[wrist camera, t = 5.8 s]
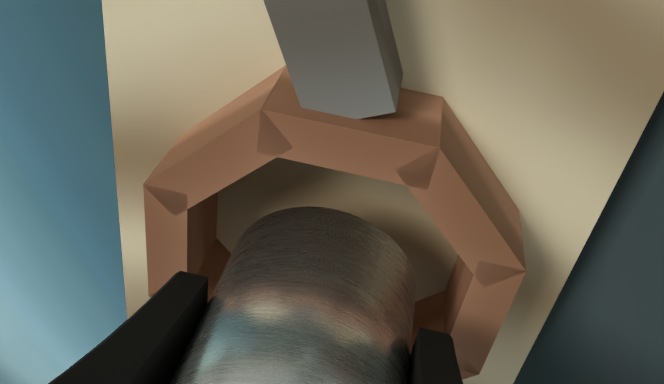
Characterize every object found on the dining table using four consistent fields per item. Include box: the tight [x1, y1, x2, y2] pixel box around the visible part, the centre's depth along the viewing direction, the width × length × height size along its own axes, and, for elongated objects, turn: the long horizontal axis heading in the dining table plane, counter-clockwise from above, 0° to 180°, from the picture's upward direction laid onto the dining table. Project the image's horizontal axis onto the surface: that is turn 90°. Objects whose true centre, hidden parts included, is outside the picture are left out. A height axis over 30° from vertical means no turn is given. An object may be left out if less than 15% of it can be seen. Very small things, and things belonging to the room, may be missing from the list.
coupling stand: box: [102, 0, 664, 384], centre depth 15 cm, size 16×12×3 cm
